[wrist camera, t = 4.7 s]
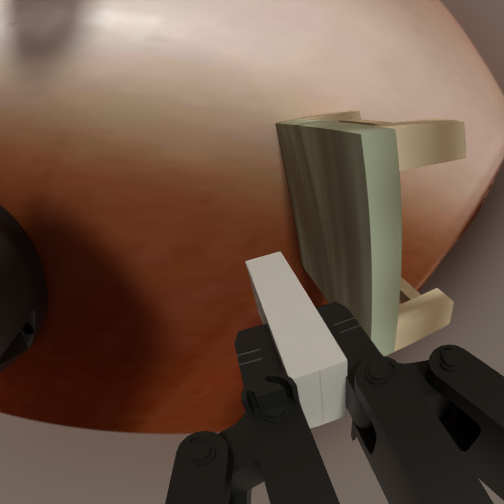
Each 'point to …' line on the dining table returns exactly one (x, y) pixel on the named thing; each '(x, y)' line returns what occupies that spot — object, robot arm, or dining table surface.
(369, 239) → the footstool
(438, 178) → the dining table surface
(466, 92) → the dining table surface
